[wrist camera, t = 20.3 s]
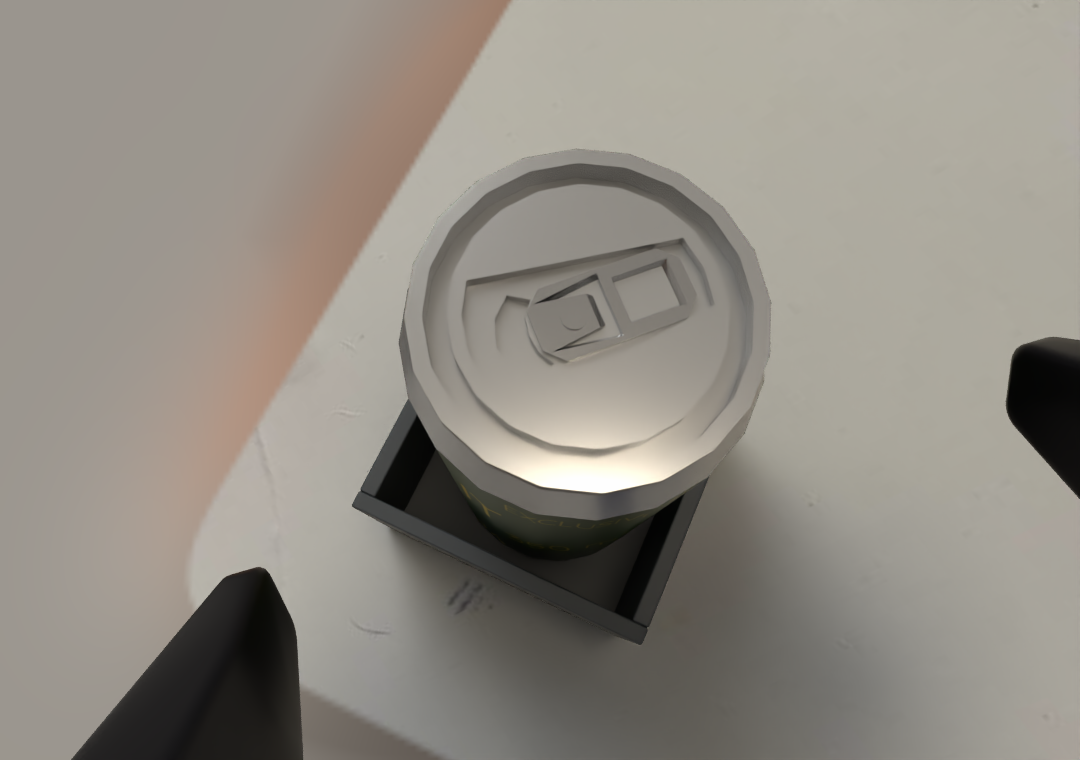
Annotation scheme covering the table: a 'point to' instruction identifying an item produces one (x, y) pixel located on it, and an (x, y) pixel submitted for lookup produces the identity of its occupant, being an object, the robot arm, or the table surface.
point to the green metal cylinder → (583, 345)
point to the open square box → (572, 585)
